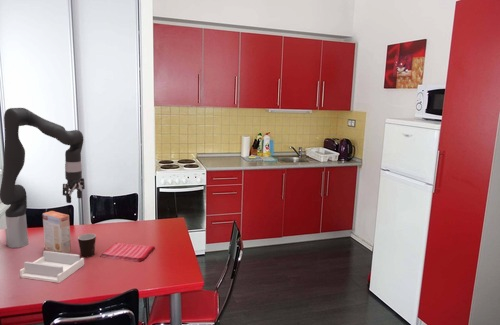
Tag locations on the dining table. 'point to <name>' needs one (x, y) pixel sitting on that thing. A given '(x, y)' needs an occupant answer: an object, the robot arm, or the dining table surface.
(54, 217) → the cracker box
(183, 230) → the dining table surface
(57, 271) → the white shallow tray
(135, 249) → the dish towel
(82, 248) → the coffee mug
